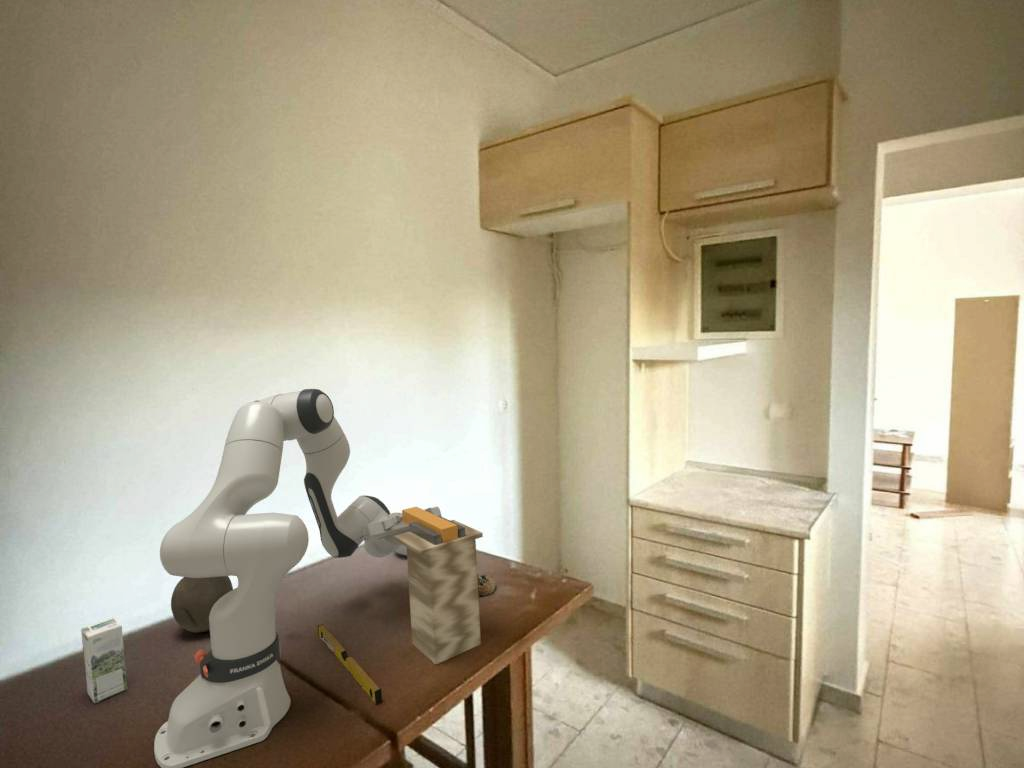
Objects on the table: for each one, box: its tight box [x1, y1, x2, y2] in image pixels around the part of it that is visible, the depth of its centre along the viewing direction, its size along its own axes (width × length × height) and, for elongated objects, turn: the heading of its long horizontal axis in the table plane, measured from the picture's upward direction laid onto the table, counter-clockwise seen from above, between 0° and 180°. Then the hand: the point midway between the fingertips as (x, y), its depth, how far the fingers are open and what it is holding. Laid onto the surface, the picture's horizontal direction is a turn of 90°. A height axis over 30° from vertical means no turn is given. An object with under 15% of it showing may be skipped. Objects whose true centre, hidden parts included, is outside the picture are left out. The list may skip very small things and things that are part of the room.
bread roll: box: [477, 572, 497, 598], centre depth 150 cm, size 11×11×5 cm
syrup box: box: [80, 617, 128, 704], centre depth 109 cm, size 6×6×14 cm
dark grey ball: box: [170, 576, 234, 634], centre depth 134 cm, size 14×14×15 cm
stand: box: [394, 515, 484, 666], centre depth 122 cm, size 16×13×28 cm
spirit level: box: [317, 623, 383, 704], centre depth 116 cm, size 33×1×3 cm, turn 39°
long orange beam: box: [401, 506, 458, 543], centre depth 125 cm, size 4×20×3 cm, turn 38°
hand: (414, 514), depth 131 cm, fingers open, 8 cm apart
